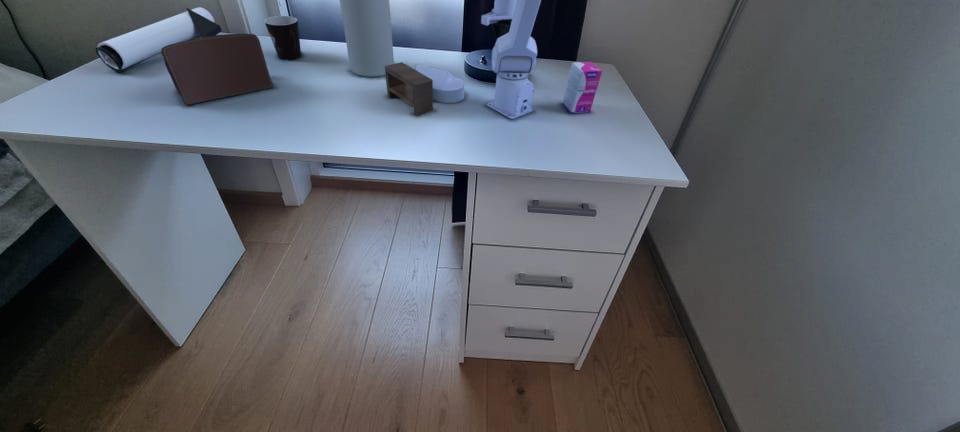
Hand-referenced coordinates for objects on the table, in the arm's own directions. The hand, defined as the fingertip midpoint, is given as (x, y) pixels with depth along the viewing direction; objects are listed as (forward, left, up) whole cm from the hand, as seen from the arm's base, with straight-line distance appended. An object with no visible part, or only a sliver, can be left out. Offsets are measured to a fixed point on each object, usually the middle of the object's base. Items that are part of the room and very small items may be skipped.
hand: (501, 48), depth 108 cm
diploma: (+66, +66, -10) cm, 94 cm away
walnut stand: (+3, +29, -9) cm, 30 cm away
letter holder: (+35, +62, -10) cm, 72 cm away
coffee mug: (+47, +41, -10) cm, 63 cm away
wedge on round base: (+3, +19, -10) cm, 21 cm away
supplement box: (-24, -6, -10) cm, 27 cm away
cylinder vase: (+27, +25, -10) cm, 38 cm away
